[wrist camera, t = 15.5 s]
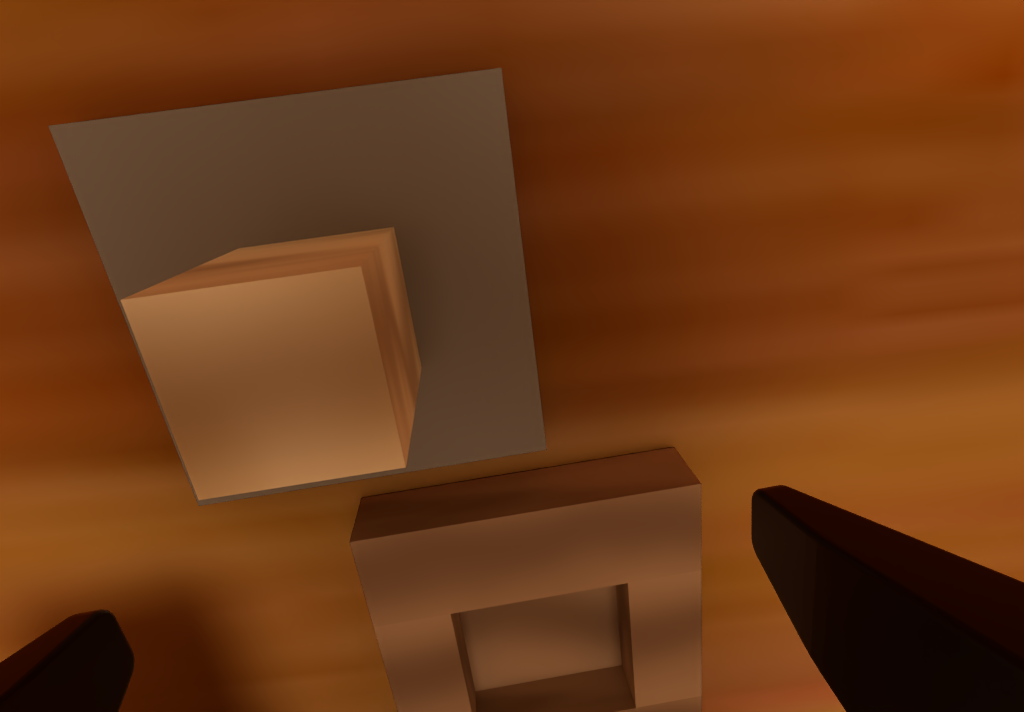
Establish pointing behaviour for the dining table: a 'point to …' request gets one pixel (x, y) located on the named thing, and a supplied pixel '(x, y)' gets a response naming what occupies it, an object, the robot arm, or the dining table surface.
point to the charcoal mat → (342, 227)
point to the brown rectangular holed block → (540, 589)
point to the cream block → (284, 362)
